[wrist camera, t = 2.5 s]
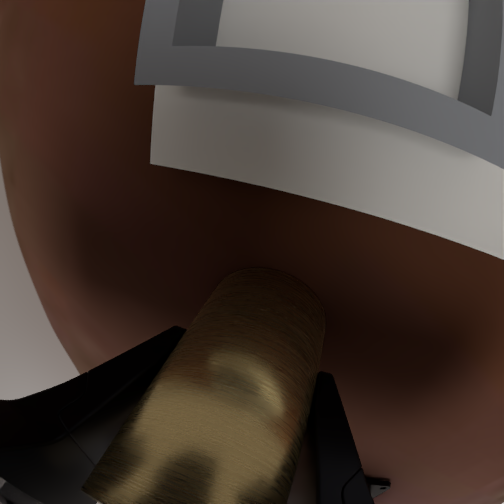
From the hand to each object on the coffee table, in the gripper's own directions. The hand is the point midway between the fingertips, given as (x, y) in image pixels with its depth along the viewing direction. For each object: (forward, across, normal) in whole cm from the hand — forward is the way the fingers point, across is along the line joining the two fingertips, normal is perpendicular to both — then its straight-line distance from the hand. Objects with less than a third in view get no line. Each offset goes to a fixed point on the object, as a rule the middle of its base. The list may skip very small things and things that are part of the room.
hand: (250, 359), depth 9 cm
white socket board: (+2, -5, -11) cm, 12 cm away
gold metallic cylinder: (+2, 0, 0) cm, 2 cm away
